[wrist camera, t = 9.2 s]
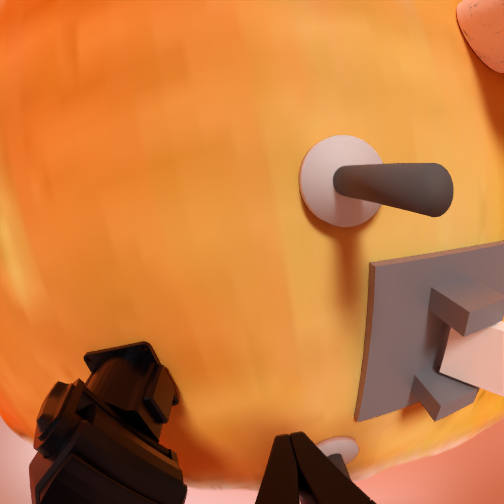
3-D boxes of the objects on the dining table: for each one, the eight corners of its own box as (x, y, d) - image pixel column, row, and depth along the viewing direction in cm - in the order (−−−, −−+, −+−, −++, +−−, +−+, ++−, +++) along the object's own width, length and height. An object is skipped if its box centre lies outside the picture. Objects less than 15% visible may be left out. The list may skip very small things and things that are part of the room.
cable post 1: (308, 471, 27) (326, 537, 17) (300, 446, 25) (320, 524, 15) (356, 455, 27) (383, 518, 17) (355, 429, 25) (388, 500, 15)
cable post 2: (310, 234, 19) (381, 289, 10) (287, 146, 18) (347, 118, 8) (386, 212, 19) (487, 244, 10) (368, 130, 18) (468, 107, 8)
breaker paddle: (439, 372, 21) (524, 403, 13) (453, 316, 20) (550, 345, 11) (445, 363, 22) (527, 393, 14) (458, 308, 20) (551, 335, 12)
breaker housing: (354, 415, 24) (375, 458, 19) (369, 262, 20) (413, 293, 14) (480, 367, 25) (508, 392, 19) (508, 239, 21) (549, 254, 15)
